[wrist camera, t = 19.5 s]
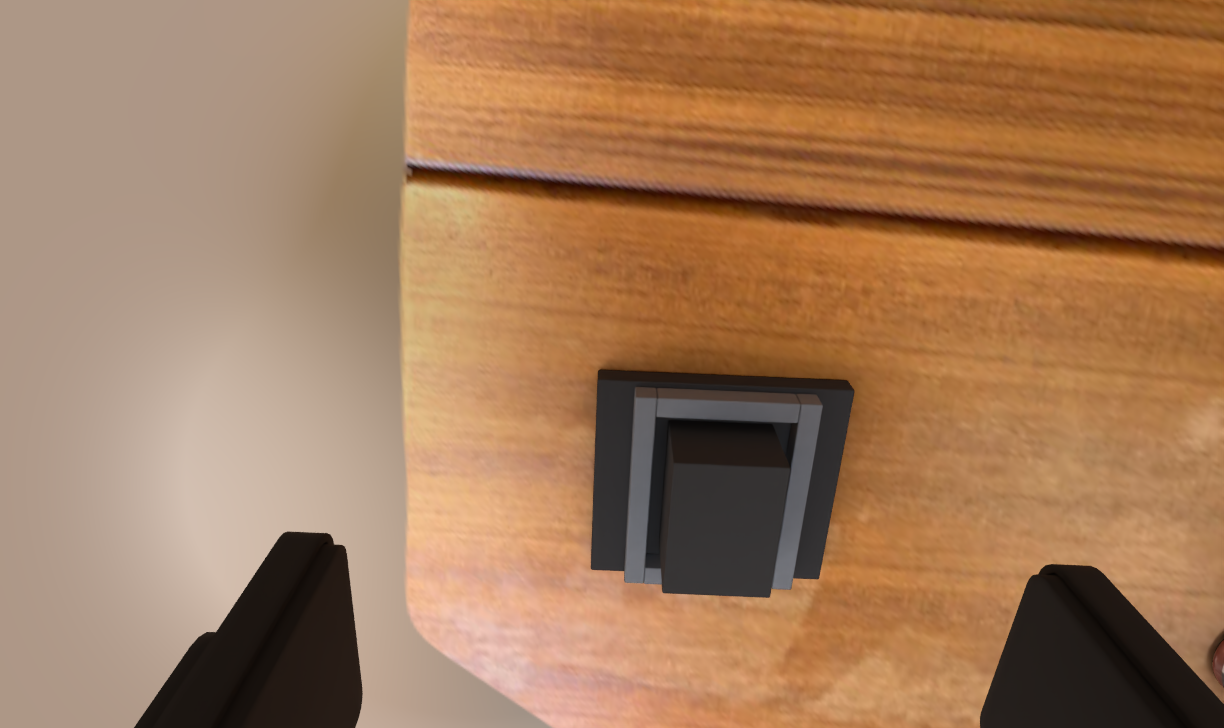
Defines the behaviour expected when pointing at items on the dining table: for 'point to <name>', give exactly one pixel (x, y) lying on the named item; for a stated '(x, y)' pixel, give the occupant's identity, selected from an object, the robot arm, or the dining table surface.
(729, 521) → the black block
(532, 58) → the dining table surface
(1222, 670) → the supplement bottle
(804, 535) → the base pad
